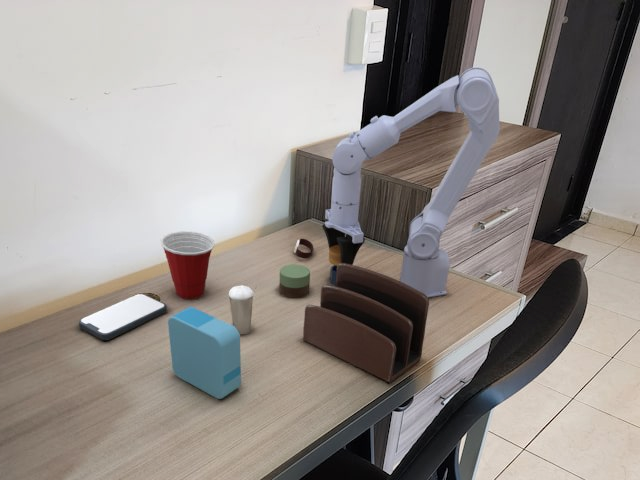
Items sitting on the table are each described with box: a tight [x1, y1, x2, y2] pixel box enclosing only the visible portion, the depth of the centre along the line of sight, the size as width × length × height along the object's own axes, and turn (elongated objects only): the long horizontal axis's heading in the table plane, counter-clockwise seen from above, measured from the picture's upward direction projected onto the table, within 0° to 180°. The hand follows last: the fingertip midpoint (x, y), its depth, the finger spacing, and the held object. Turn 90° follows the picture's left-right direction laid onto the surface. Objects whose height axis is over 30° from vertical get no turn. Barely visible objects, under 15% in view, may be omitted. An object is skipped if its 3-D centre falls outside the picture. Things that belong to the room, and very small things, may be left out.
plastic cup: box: [160, 230, 216, 300], centre depth 128 cm, size 11×11×12 cm
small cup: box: [329, 264, 337, 286], centre depth 136 cm, size 4×4×3 cm
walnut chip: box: [278, 281, 311, 299], centre depth 132 cm, size 6×6×2 cm
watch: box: [293, 238, 315, 260], centre depth 147 cm, size 8×5×4 cm, turn 174°
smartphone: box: [78, 293, 168, 341], centre depth 121 cm, size 9×2×16 cm
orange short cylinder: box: [328, 245, 341, 266], centre depth 133 cm, size 5×5×3 cm
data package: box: [167, 306, 242, 400], centre depth 101 cm, size 12×4×12 cm, turn 51°
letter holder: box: [302, 263, 430, 384], centre depth 110 cm, size 10×20×14 cm, turn 47°
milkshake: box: [228, 283, 259, 336], centre depth 116 cm, size 5×5×10 cm
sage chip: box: [279, 263, 311, 288], centre depth 130 cm, size 6×6×2 cm
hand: (340, 261), depth 134 cm, fingers closed on orange short cylinder, 5 cm apart
